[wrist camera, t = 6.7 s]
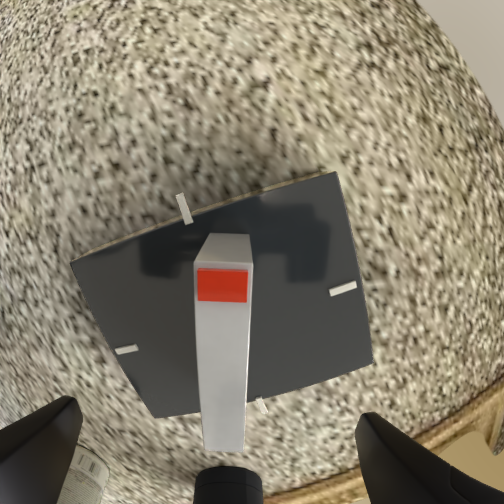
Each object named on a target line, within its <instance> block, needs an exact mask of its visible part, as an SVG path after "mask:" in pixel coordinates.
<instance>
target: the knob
mask: <svg viewBox="0 0 504 504" xmlns="http://www.w3.org/2000/svg"><path fill="white" fill-rule="evenodd" d="M252 282H253V258H252V250H251V242H250V235H249V234H230V233H209V235H208V237H207V238H206V240H205V242H204V244H203V246H202V247H201V249H200V251H199V253H198V255H197V257H196V258H195V260H194V309H195V335H196V355H197V372H198V387H199V400H200V412H201V423H202V434H203V443H204V450H205V451H219V452H244V441H245V422H246V402H247V382H248V362H249V342H250V322H251V302H252Z"/></svg>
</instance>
